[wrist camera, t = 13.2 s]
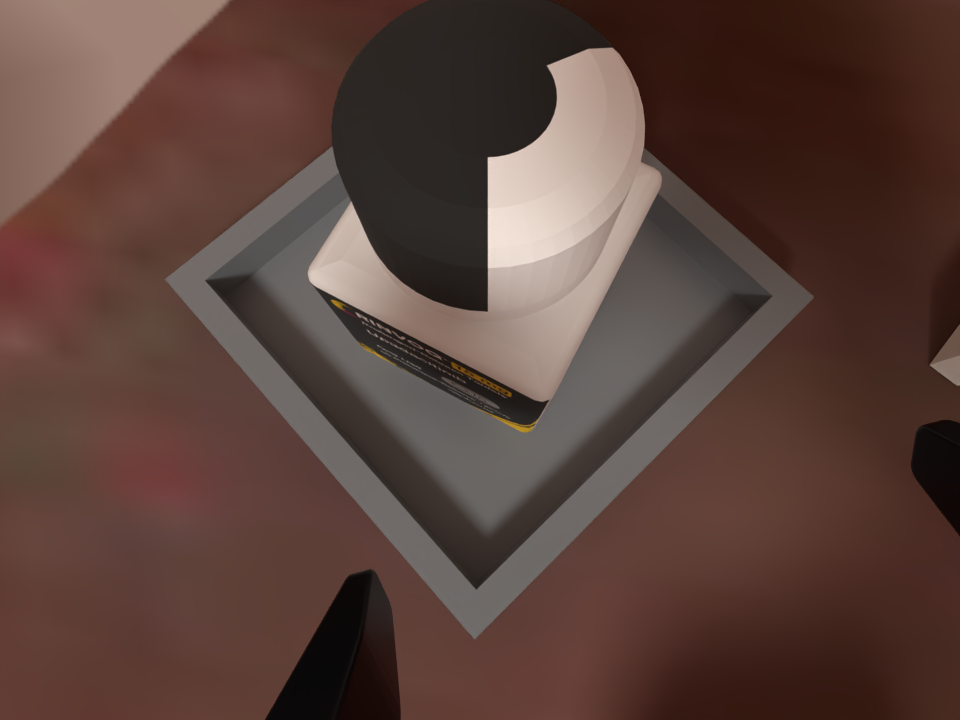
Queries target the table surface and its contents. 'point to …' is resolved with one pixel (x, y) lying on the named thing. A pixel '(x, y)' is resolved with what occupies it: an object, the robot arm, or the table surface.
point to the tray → (467, 430)
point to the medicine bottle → (484, 196)
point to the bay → (949, 358)
